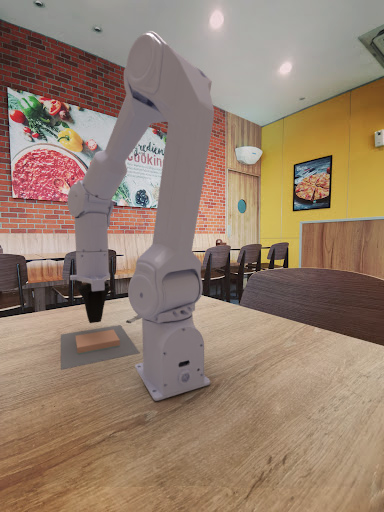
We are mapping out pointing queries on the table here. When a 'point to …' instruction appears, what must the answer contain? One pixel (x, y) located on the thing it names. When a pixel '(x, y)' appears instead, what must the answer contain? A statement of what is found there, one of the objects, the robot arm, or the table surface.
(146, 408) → the table surface
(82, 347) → the tile
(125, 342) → the mat
